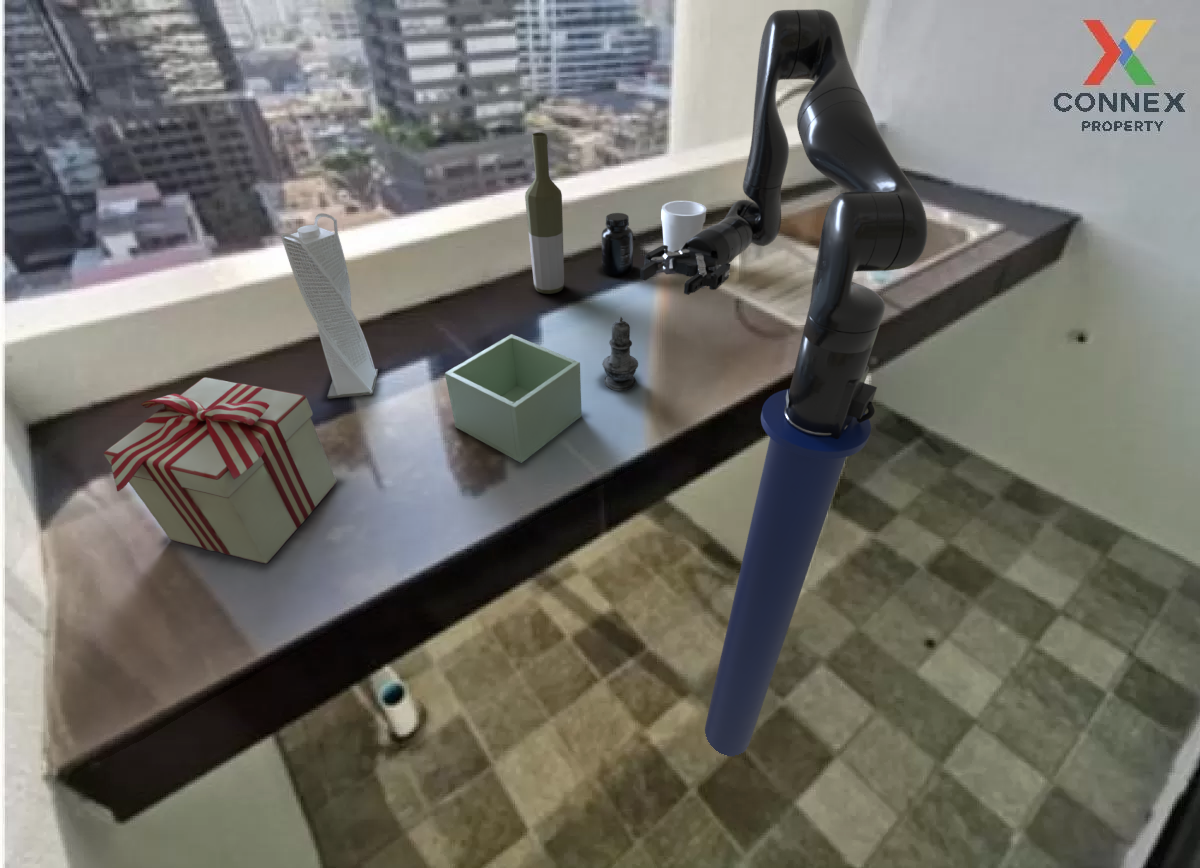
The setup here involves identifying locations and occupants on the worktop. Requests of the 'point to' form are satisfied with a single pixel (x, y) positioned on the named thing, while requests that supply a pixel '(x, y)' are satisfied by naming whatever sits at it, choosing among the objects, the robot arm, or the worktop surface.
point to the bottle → (545, 223)
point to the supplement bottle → (617, 245)
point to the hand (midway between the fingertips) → (663, 281)
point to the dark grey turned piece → (620, 359)
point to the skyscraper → (331, 307)
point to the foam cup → (681, 223)
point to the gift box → (226, 467)
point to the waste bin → (515, 396)
